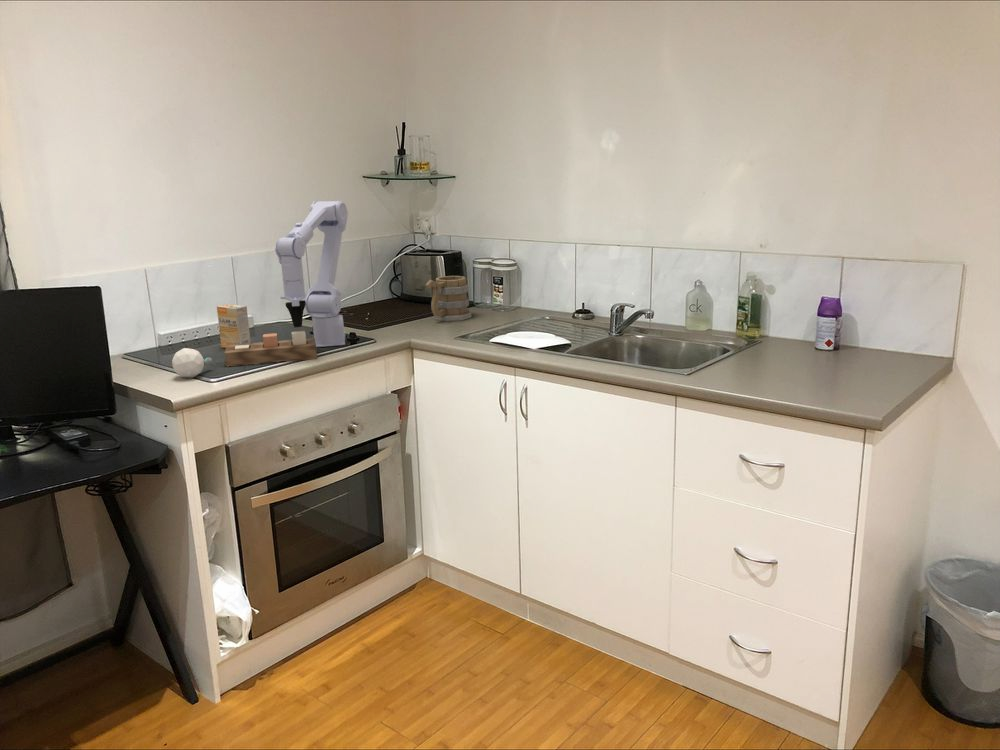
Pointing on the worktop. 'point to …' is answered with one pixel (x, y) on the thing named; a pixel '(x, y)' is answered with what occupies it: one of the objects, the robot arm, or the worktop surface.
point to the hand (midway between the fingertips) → (297, 326)
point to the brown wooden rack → (270, 353)
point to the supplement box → (233, 324)
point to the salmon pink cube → (270, 340)
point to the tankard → (449, 298)
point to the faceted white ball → (189, 362)
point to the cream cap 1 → (242, 347)
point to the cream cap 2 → (299, 338)
